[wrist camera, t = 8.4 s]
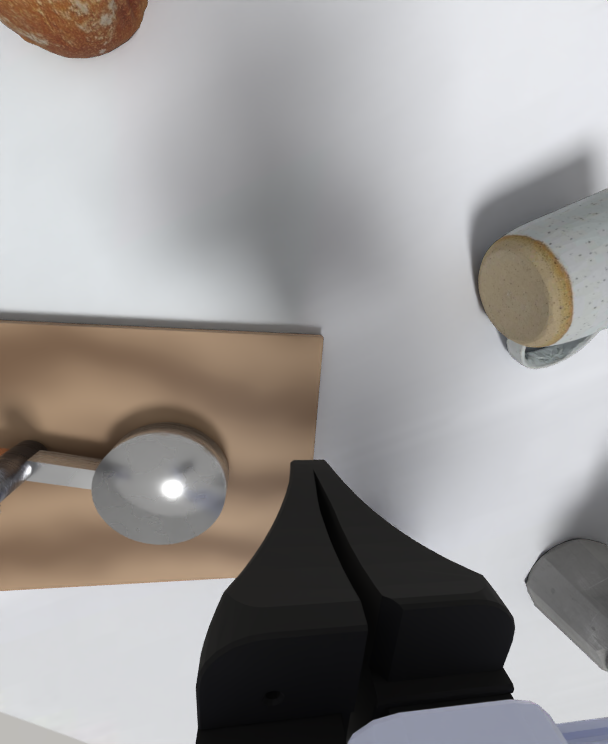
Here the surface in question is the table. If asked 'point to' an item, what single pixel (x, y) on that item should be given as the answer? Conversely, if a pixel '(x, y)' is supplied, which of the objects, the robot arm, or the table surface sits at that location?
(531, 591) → the coffeepot
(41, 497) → the stand board
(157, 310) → the table surface
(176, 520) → the grey metal rounded piece
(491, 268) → the ceramic mug
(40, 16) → the bread roll
